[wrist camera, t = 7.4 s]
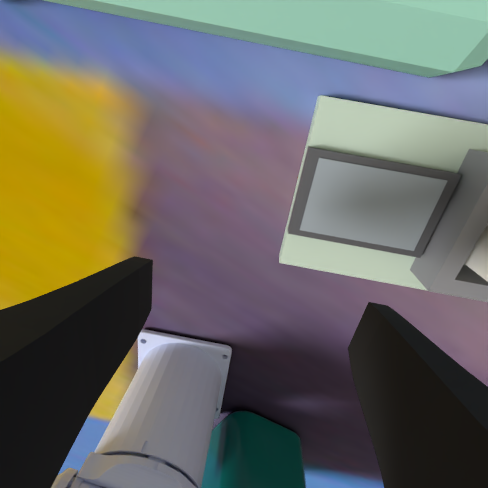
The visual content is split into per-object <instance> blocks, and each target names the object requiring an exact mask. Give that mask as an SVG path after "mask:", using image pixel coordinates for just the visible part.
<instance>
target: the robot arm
mask: <svg viewBox="0 0 488 488" xmlns="http://www.w3.org/2000/svg"><path fill="white" fill-rule="evenodd" d="M152 265H153V260H150V259H145V258H140V257H132V258H129V259H127V260H124V261H122V262H120V263H117V264H115V265H113V266H111V267H108V268H106V269H104V270H102V271H99V272H97V273H95V274H93V275H90V276H88V277H86V278H84V279H81V280H79V281H77V282H74V283H72V284H69V285H67V286H64V287H62V288H59V289H57V290H54V291H52V292H49V293H47V294H44V295H42V296H39V297H37V298H34V299H31V300H29V301H26V302H23V303H20V304H17V305H14V306H11V307H8V308H5V309H2V310H0V488H201V485H202V480H203V475H204V469H205V464H206V459H207V454H208V449H209V444H210V438H211V433H212V428H213V423H214V419H217V418H219V416H220V411H221V406H222V400H223V395H224V390H225V385H226V379H227V374H228V369H229V364H230V359H231V353H232V348H231V347H230V346H228V345H223V344H218V343H213V342H207V341H202V340H197V339H192V338H187V337H181V336H176V335H171V334H166V333H161V332H155V331H150V330H144V329H143V330H142V328H143V326H144V324H145V322H146V320H147V317H148V315H149V313H150V311H151V304H152ZM137 338H138V370H137V372H136V374H135V376H134V378H133V380H132V382H131V384H130V386H129V388H128V389H127V391H126V393H125V395H124V397H123V399H122V401H121V403H120V405H119V406H118V408H117V410H116V412H115V414H114V416H113V418H112V420H111V422H110V423H109V425H108V427H107V429H106V431H105V433H104V435H103V437H102V439H101V440H100V442H99V444H98V446H97V448H96V450H95V452H90V453H89V455H88V456H87V458H86V460H85V462H84V464H83V466H82V468H81V469H80V471H79V473H78V470H75V469H72V468H68V469H66V470H65V471H64V472H63V473H61V474H59V475H58V473H59V471H60V469H61V467H62V465H63V463H64V461H65V459H66V457H67V455H68V453H69V451H70V449H71V447H72V445H73V443H74V442H75V440H76V438H77V436H78V434H79V432H80V430H81V428H82V426H83V425H84V423H85V421H86V419H87V417H88V415H89V413H90V412H91V410H92V408H93V407H94V405H95V403H96V402H97V400H98V398H99V397H100V395H101V394H102V392H103V391H104V389H105V387H106V386H107V384H108V383H109V381H110V380H111V378H112V377H113V375H114V373H115V372H116V370H117V369H118V367H119V366H120V364H121V363H122V361H123V360H124V358H125V357H126V355H127V353H128V352H129V350H130V349H131V347H132V346H133V344H134V342H135V341H136V339H137ZM144 339H145V340H144ZM348 351H349V358H350V364H351V370H352V375H353V380H354V383H355V387H356V390H357V393H358V397H359V400H360V403H361V407H362V410H363V413H364V416H365V420H366V423H367V426H368V429H369V433H370V436H371V439H372V442H373V446H374V449H375V452H376V455H377V459H378V463H379V467H380V470H381V474H382V479H383V483H384V488H488V387H487V386H486V385H485V384H483V383H482V382H481V381H479V380H478V379H477V378H476V377H474V376H473V375H472V374H470V373H469V372H468V371H467V370H465V369H464V368H463V367H462V366H460V365H459V364H458V363H457V362H456V361H454V360H453V359H452V358H451V357H449V356H448V355H447V354H446V353H445V352H443V351H442V350H441V349H440V348H439V347H437V346H436V345H435V344H434V343H433V342H432V341H430V340H429V339H428V338H427V337H426V336H424V335H423V334H422V333H421V332H420V331H419V330H417V329H416V328H415V327H414V326H413V325H412V324H410V323H409V322H408V321H407V320H405V319H404V318H403V317H402V316H401V315H399V314H398V313H397V312H395V311H394V310H393V309H391V308H390V307H389V306H386V305H381V304H376V303H371V302H369V303H368V305H367V307H366V309H365V311H364V314H363V316H362V318H361V320H360V323H359V325H358V327H357V329H356V331H355V334H354V336H353V338H352V340H351V342H350V345H349V347H348ZM225 355H227V356H225ZM77 474H78V475H77Z"/></svg>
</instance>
